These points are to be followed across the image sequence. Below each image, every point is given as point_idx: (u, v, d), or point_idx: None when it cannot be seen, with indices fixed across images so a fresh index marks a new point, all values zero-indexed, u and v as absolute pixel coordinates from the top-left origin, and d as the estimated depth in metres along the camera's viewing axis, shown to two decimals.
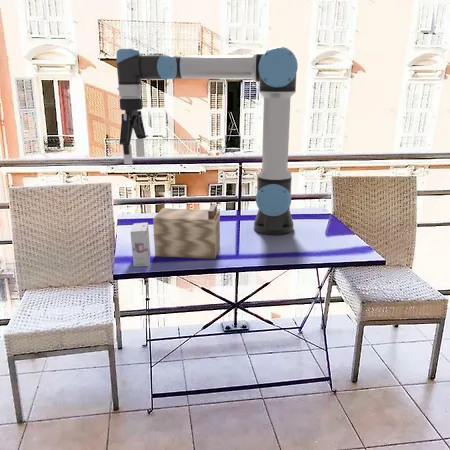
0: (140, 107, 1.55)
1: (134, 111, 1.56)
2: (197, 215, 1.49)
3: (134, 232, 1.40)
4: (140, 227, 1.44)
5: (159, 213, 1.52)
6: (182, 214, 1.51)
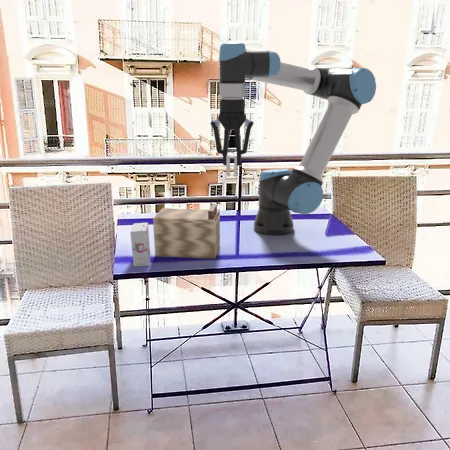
0: (227, 109, 1.36)
1: (231, 114, 1.38)
2: (197, 215, 1.49)
3: (134, 232, 1.40)
4: (140, 227, 1.44)
5: (159, 213, 1.52)
6: (182, 214, 1.51)
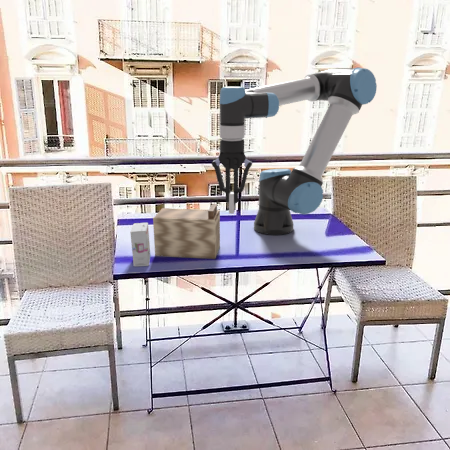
0: (227, 150, 1.39)
1: (231, 154, 1.42)
2: (197, 215, 1.49)
3: (134, 232, 1.40)
4: (140, 227, 1.44)
5: (159, 213, 1.52)
6: (182, 214, 1.51)
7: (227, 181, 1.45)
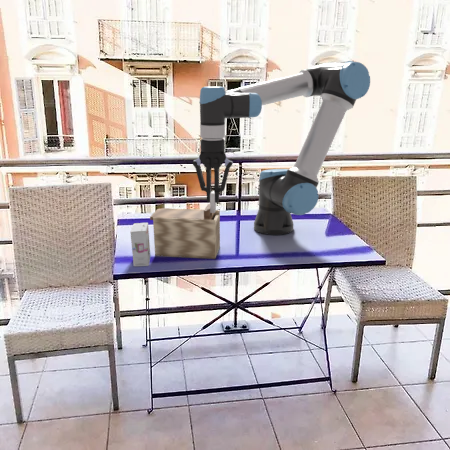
0: (207, 150, 1.40)
1: (211, 153, 1.43)
2: (193, 215, 1.50)
3: (134, 232, 1.40)
4: (140, 227, 1.44)
5: (155, 213, 1.52)
6: (178, 214, 1.51)
7: (208, 180, 1.46)
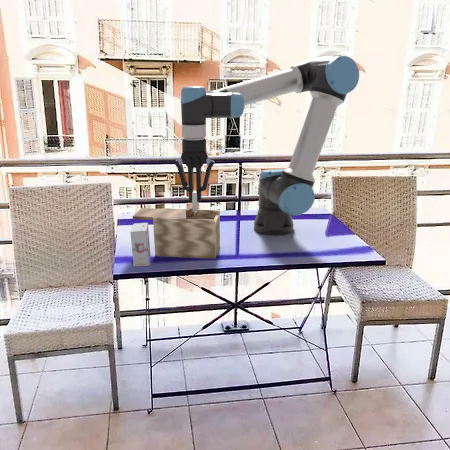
0: (188, 150, 1.41)
1: (193, 153, 1.43)
2: (176, 214, 1.50)
3: (134, 232, 1.40)
4: (140, 227, 1.44)
5: (138, 212, 1.53)
6: (161, 213, 1.52)
7: (190, 180, 1.46)
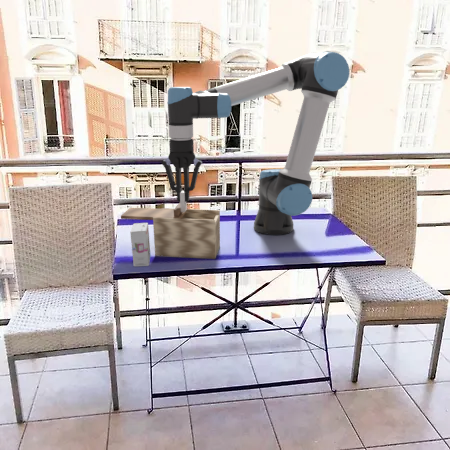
0: (175, 150, 1.41)
1: (180, 153, 1.44)
2: (164, 214, 1.51)
3: (134, 232, 1.40)
4: (140, 227, 1.44)
5: (126, 212, 1.53)
6: (149, 213, 1.52)
7: (177, 180, 1.47)
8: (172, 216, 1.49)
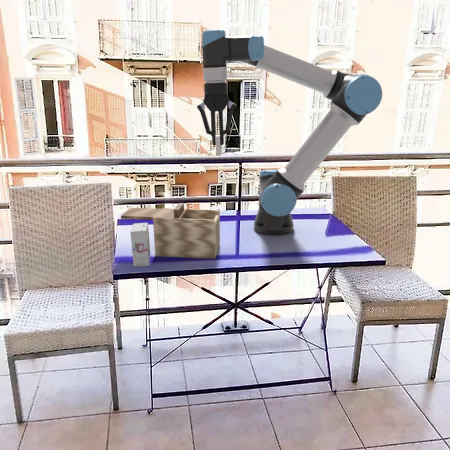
0: (211, 92, 1.46)
1: (215, 96, 1.49)
2: (164, 214, 1.51)
3: (134, 232, 1.40)
4: (140, 227, 1.44)
5: (126, 212, 1.53)
6: (149, 213, 1.52)
7: (213, 123, 1.51)
8: (172, 216, 1.49)
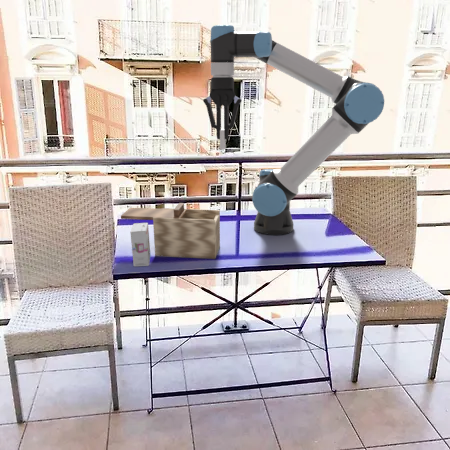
0: (217, 86, 1.48)
1: (221, 91, 1.51)
2: (164, 214, 1.51)
3: (134, 232, 1.40)
4: (140, 227, 1.44)
5: (126, 212, 1.53)
6: (149, 213, 1.52)
7: (218, 117, 1.54)
8: (172, 216, 1.49)
